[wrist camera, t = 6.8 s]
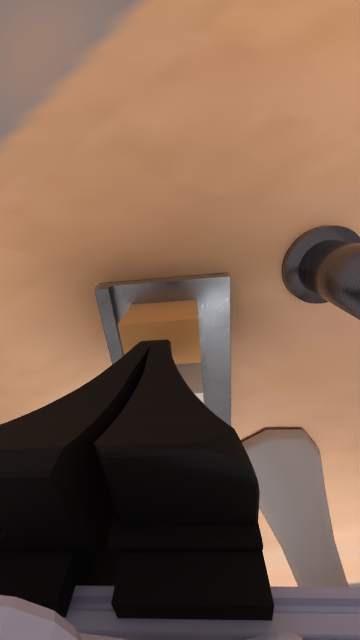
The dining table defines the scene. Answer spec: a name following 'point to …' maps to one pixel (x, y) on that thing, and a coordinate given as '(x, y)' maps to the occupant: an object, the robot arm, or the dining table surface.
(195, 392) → the toggle mid
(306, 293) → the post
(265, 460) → the flask
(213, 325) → the panel
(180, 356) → the toggle orange
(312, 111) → the dining table surface
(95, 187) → the dining table surface
